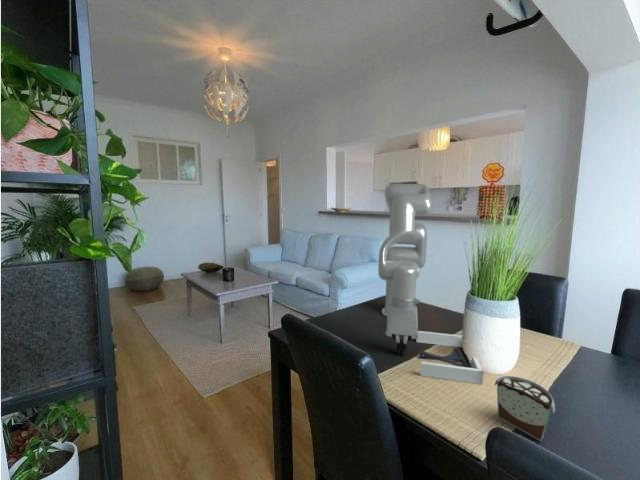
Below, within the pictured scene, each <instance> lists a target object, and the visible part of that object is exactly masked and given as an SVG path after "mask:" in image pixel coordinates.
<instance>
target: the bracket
mask: <svg viewBox="0 0 640 480" xmlns="http://www.w3.org/2000/svg"><path fill="white" fill-rule="evenodd" d="M419 359H420V360H421V359H422V360H433V361H441V362H446V363H449V364H450V365H453V366H460V367H467V368H471V366H470V364H469V361H468V360H467V358H465V356H464V354H463V353H462V351H461V349H460V347H455V348H454V350H453V351H452V353H450V354H448V355H444V356H441V355H436V354H433V353H430V352H427V351H424V350H423V351H420V352H419Z"/></svg>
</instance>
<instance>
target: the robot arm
mask: <svg viewBox="0 0 640 480" xmlns="http://www.w3.org/2000/svg"><path fill="white" fill-rule="evenodd" d="M384 197H385V198H384V199H385V202H386V205H387V207H388V211H389V234H388V236H387V238H386V239H384V241H383V242H382V244H381V245H380V248H379V251H378V262H377V263H378V267H377V268H378V269H377V272H378V276H379V278H380V279H381V280H383V281H385V300H384V301H385V302H384V303H385V306H384V307H383V308H382V309H381V314H382V315H383V316H385V317H386V331H385V335H386V336H387V337H391V338H392V339H394V341H395V342H396V351H398V355H404V352H406V350H407V349H406V348H407V346H406V345H407V343H408V342H409V341H411V340H416V339H417V338H418V334H417V333H418V331H419V320H418V319H419V317H418V316H419V315H418V307H417V305H419V304H420V299H417V298H416V287H417V285H416V283H417V279H418V278H419V277H420V269H422V268H423V267H425V264H426V256H427V239H428V232H427V228H426V225H425V224H423V223H421V222H420V223H419V222H415V221H416V217H428V216H429V215H431V212H432V210H433V209H432V207H433V202H432V196H431V193H430V189H429V186H427V185H426V184H424V183H422V184H421V183H396V184H395V183H393V184H389V185H387V186H386V187H385V190H384ZM395 244H397V246H396V245H395ZM394 245H395V246H394ZM398 245H400V246H398ZM401 245H414V246H401ZM400 336H403V337H402V340H401V338H400Z"/></svg>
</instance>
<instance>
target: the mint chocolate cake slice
mask: <svg viewBox="0 0 640 480" xmlns="http://www.w3.org/2000/svg"><path fill="white" fill-rule="evenodd" d="M494 386H496V390H497V391H496V392H497V393H496V394H497V397H496V398H497V404H496V405H497V418H498V419H500V420H502V421H504V422H505V423H507V424H510V425H511V426H512V427H515V428H516V429H518V430H520V431H521V432H523V433H525V434H526V435H528V436H530V437H531V438H534V439H536V440H537V441H539V442H541V443H542V442H543V441H544V437H545V433H546V430H547V426H548V422H549V418H550V415H551V411H552V414H554V413H555V412H556V406H555V400H554V397H553V396H552V394H551V393H550V392H549V391H548V390H547V389H546V388H545V387H543V386H542V385H540V384H538V383H536V382H534V381H531V380H530V379H526V378H523V377H520V376H511V375H502V376H499V377H497V379H496V380H495V383H494Z"/></svg>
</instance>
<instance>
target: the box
mask: <svg viewBox="0 0 640 480" xmlns="http://www.w3.org/2000/svg"><path fill="white" fill-rule="evenodd" d="M417 334H418V338H417V339H415V340H416V343H420V344H421V343H422V344H429V345H430V344H431V345H438V346H445V347H455V348H462V349H463V345H462V336H463V335H459V334H450V333H442V332H432V331H423V330H418V333H417ZM467 362H468V364H469V366H470V367H471V368H467V367H460V366H456V365H453V364H443V363H435V362H430V361H429V362H428V361H422V360H421V361H420V373H419V374H420V375H419V376H421V377H422V376H423V377H427V378H436V379H441V380H449V381H455V382H463V383H469V384H470V383H471V384H475V385H476V384H477V385H483V381H484V370H483V368H482V366H481V364H480V361H479V360H478V357H477V358H475V357H473V356H472V360H471V363H470V360H468V359H467Z"/></svg>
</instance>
